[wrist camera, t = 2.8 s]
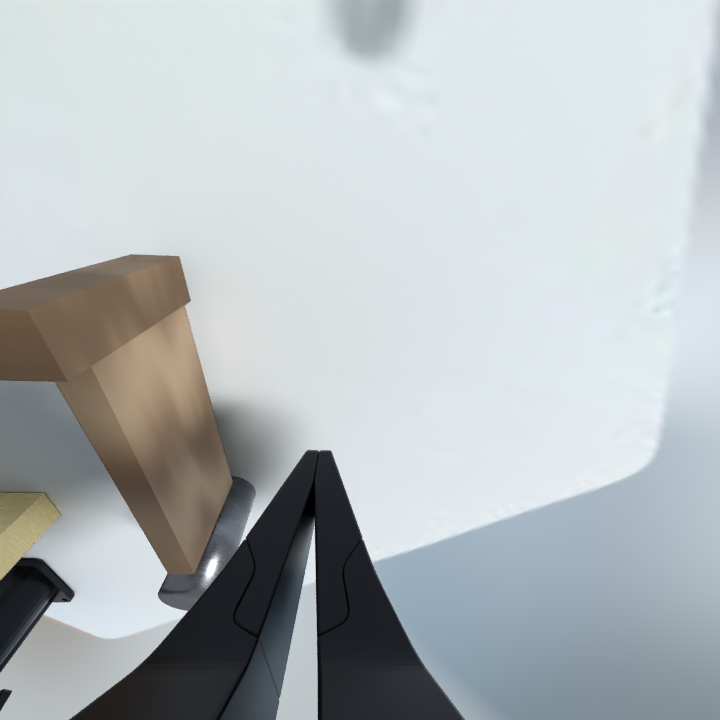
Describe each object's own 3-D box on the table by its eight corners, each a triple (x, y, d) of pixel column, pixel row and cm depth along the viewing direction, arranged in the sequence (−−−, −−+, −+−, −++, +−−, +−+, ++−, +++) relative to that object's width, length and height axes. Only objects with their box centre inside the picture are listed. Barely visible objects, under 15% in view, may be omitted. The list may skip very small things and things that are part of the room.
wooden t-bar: (237, 482, 18) (190, 600, 13) (208, 481, 18) (148, 600, 13) (179, 256, 11) (27, 310, 6) (131, 254, 11) (-65, 307, 6)
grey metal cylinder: (258, 504, 20) (226, 610, 15) (215, 504, 20) (167, 611, 15) (252, 476, 19) (214, 584, 14) (206, 476, 19) (149, 584, 14)
